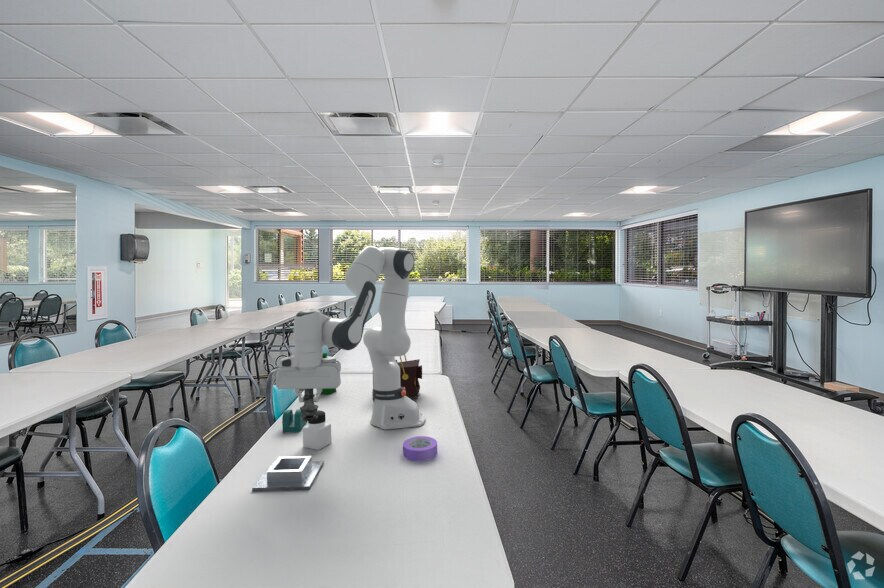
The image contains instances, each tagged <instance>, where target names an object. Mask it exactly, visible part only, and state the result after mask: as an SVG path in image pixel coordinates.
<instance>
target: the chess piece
mask: <svg viewBox="0 0 884 588" xmlns="http://www.w3.org/2000/svg"><path fill="white" fill-rule="evenodd" d="M303 390H304V391H303V392H304V395H302V396H303V397H304V402H303V405H302V406H299V409H300V410H301V413H302V414H303V415H304V416H303V417H302V418H301V420H303V421H307V422H308V421H311V420H315V419H317V418H318V416H316V415H314V414H315V413H316V412H317V410H319V405H318V404H315V402H313V397H314V396H315V394H314V389H303Z"/></svg>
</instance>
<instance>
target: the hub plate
mask: <svg viewBox="0 0 884 588" xmlns="http://www.w3.org/2000/svg"><path fill="white" fill-rule="evenodd" d="M324 464H325V462H324V460H313V459H312V455H302V456H301V455H299V456H278V457H277V459H276V460H275V461H273V462H272V463H271V465H270V466H269V467H268V468H267V469H266V471H265V472H264V473H263V474H262V475H261V476H260V477H259V479H258V480H257V481H256V483H255V484H254V485H253V486H252V488H251V490H252V492H275V491H276V492H277V491H278V492H279V491H283V492H284V491H307V490H308V491H309V490H310V489H311V488H312V485H313V484H314V482H315V480H316V479H317V477H318V476H319V473H320V471H321V470H322V468H323V466H324Z"/></svg>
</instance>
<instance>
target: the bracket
mask: <svg viewBox="0 0 884 588" xmlns="http://www.w3.org/2000/svg"><path fill="white" fill-rule="evenodd" d="M303 416H304V415H303V414H302V413H301V410H300V408H299V409H296V410H295V412H294V411H293V410H292V409H285V410H284V411H283V413H282V418H281V419H282V420H281V423H282V433H301V432H302V431H303V427H305V426H306V424H308V421H303V420H301V418H302V417H303Z"/></svg>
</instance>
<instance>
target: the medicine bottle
mask: <svg viewBox="0 0 884 588" xmlns="http://www.w3.org/2000/svg"><path fill="white" fill-rule="evenodd" d="M314 415H316V416H318V418H317V419H315V420H311V421H307V425H305V426H304V427H303V429H302V447H303V448H306V449H311V450H316V451H320V450H322V449H323V448H325V447H327V446H328V445H330V444H331V443H332V423H327V422H326V420H327V419H326V412H325V411H324V410H319V409H318V410H317V412H316V413H315V414H314Z"/></svg>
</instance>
